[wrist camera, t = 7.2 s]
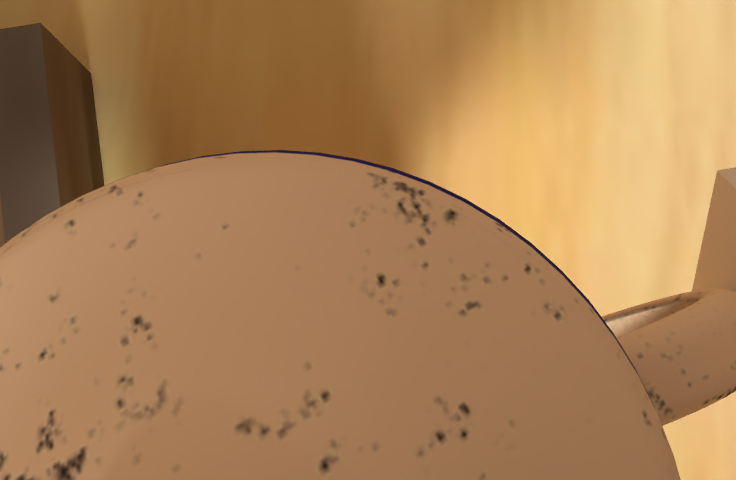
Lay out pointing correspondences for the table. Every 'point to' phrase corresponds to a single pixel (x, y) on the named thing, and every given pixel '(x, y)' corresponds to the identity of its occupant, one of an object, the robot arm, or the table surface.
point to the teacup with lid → (329, 337)
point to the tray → (43, 128)
